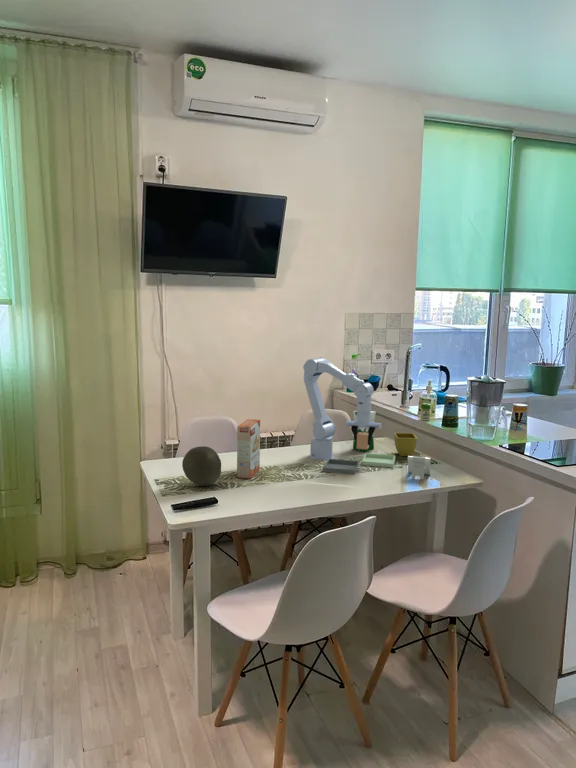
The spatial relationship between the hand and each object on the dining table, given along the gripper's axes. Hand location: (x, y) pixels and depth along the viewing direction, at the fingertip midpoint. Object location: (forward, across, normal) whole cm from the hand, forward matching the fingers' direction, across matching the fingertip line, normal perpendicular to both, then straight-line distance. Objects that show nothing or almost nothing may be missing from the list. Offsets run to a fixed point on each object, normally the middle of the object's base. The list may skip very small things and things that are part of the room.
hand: (362, 444), depth 240 cm
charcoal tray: (+9, -8, -7) cm, 14 cm away
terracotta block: (+2, 0, 0) cm, 2 cm away
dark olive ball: (+10, -54, -42) cm, 69 cm away
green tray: (+10, +6, +6) cm, 13 cm away
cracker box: (+10, -42, -23) cm, 49 cm away
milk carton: (+10, -3, +26) cm, 28 cm away
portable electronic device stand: (+10, +23, -7) cm, 26 cm away
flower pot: (+10, +16, +22) cm, 29 cm away
